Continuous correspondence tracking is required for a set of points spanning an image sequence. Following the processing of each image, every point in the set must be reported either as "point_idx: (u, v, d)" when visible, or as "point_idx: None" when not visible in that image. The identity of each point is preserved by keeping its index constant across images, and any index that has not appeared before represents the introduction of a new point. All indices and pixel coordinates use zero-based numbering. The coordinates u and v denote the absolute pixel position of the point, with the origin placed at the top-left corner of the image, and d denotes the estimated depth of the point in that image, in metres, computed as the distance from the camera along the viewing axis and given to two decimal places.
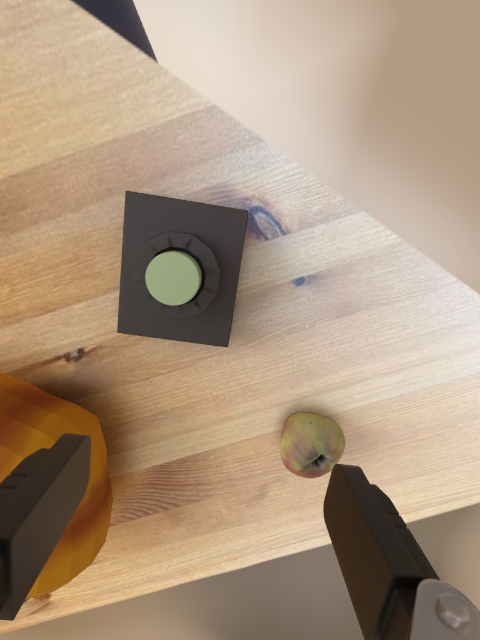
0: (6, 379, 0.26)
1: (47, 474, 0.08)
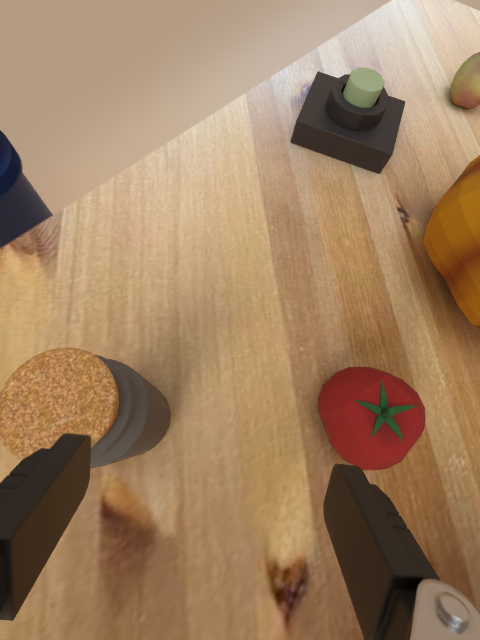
0: (433, 210, 0.32)
1: (47, 474, 0.08)
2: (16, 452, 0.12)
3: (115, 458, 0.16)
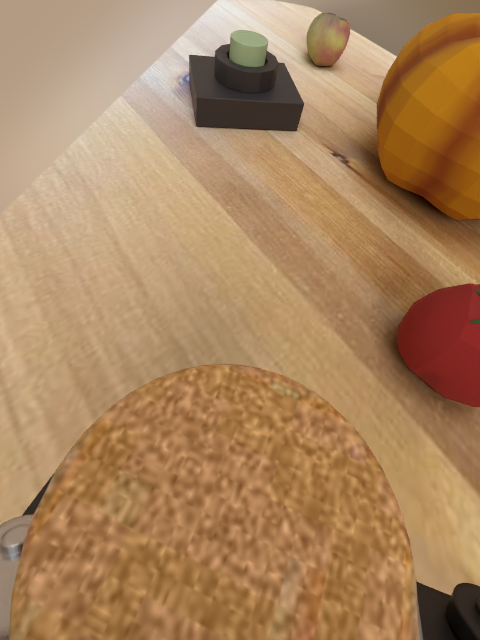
0: (379, 130, 0.30)
1: None
2: None
3: None
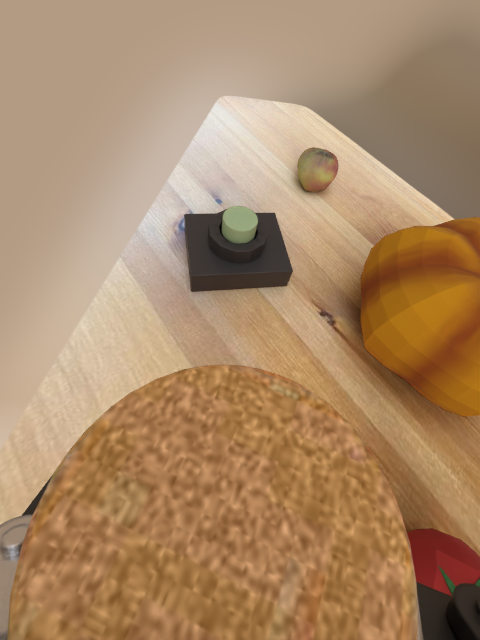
0: (361, 320, 0.32)
1: None
2: None
3: None
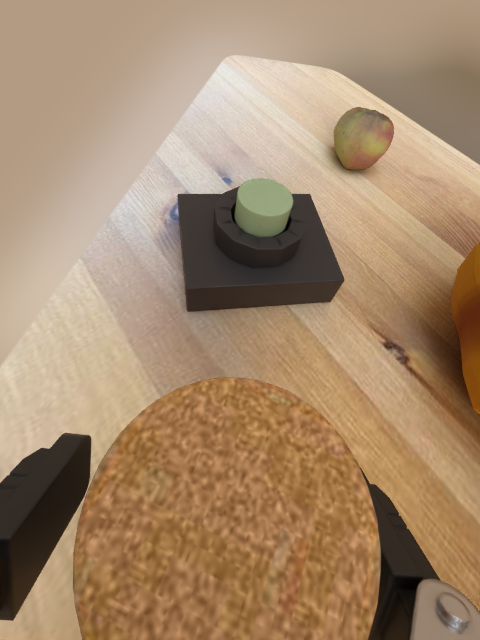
0: (475, 366, 0.19)
1: (47, 474, 0.08)
2: None
3: None
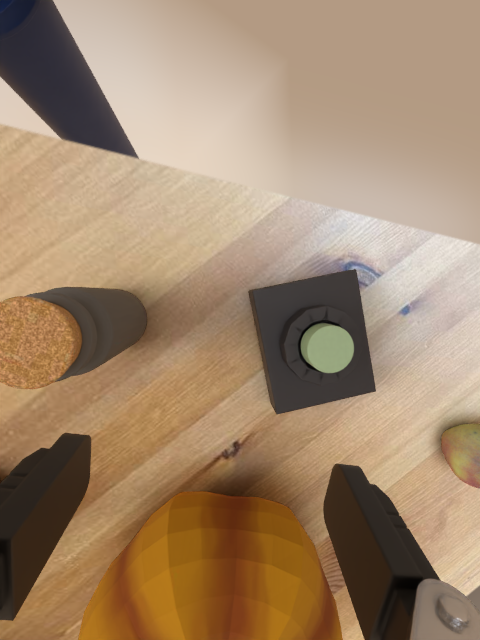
0: (199, 495, 0.28)
1: (47, 474, 0.08)
2: None
3: None
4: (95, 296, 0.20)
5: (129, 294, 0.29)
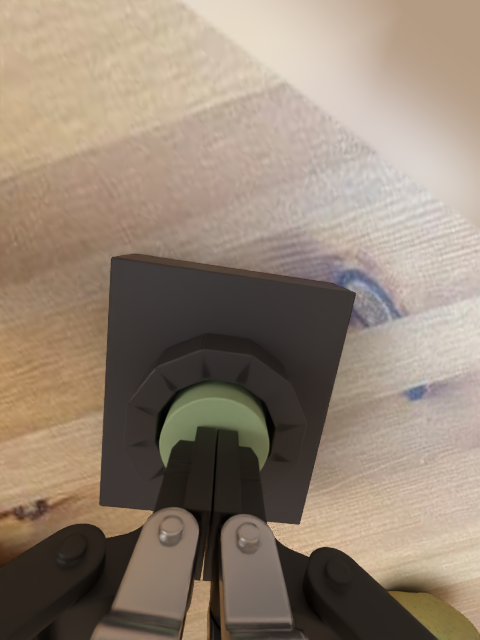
0: None
1: (206, 460, 0.09)
2: None
3: None
4: None
5: None
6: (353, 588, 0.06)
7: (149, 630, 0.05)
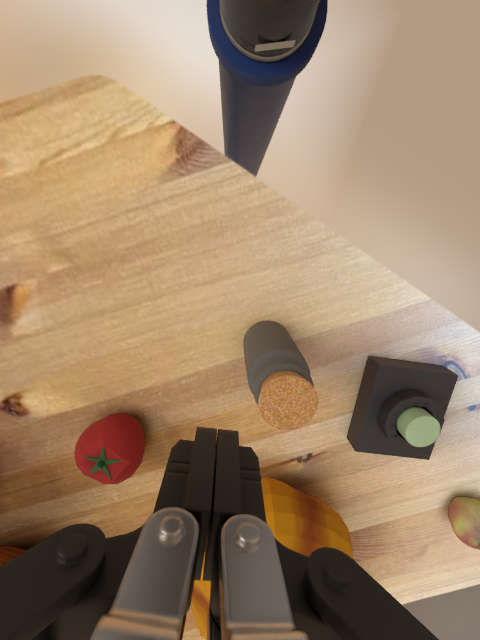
0: (286, 487, 0.38)
1: (206, 460, 0.09)
2: (262, 394, 0.24)
3: None
4: (305, 361, 0.29)
5: None
6: (353, 588, 0.06)
7: (149, 630, 0.05)
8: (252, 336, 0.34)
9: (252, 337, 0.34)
